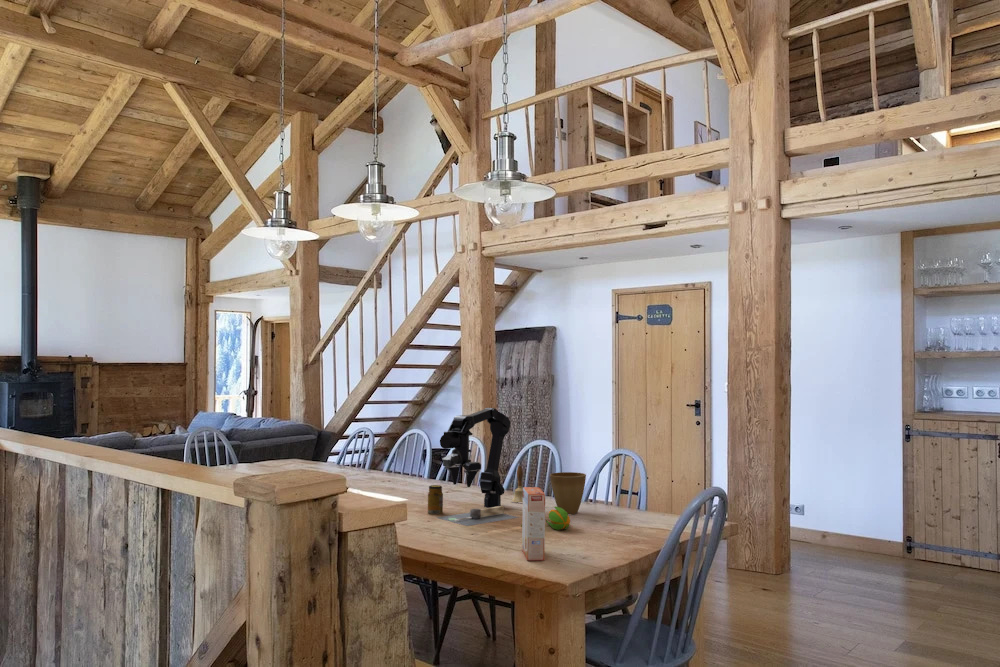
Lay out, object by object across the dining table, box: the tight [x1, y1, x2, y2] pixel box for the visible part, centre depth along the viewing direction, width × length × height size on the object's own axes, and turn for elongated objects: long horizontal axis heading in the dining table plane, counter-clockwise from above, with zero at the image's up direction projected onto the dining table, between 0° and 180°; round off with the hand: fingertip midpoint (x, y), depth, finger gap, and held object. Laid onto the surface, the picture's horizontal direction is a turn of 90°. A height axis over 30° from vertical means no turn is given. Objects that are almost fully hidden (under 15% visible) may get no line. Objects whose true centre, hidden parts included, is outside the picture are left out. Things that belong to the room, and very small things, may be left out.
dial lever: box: [454, 505, 505, 521], centre depth 297 cm, size 24×4×3 cm, turn 130°
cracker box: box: [521, 486, 546, 562], centre depth 243 cm, size 14×6×21 cm, turn 5°
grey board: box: [436, 512, 520, 527], centre depth 298 cm, size 26×20×1 cm
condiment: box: [427, 484, 444, 516], centre depth 306 cm, size 7×8×12 cm
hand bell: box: [510, 465, 524, 502], centre depth 339 cm, size 8×8×16 cm
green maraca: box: [545, 506, 571, 531], centre depth 286 cm, size 7×8×20 cm
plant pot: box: [549, 471, 587, 515], centre depth 313 cm, size 15×15×16 cm
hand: (461, 485), depth 307 cm, fingers open, 9 cm apart
